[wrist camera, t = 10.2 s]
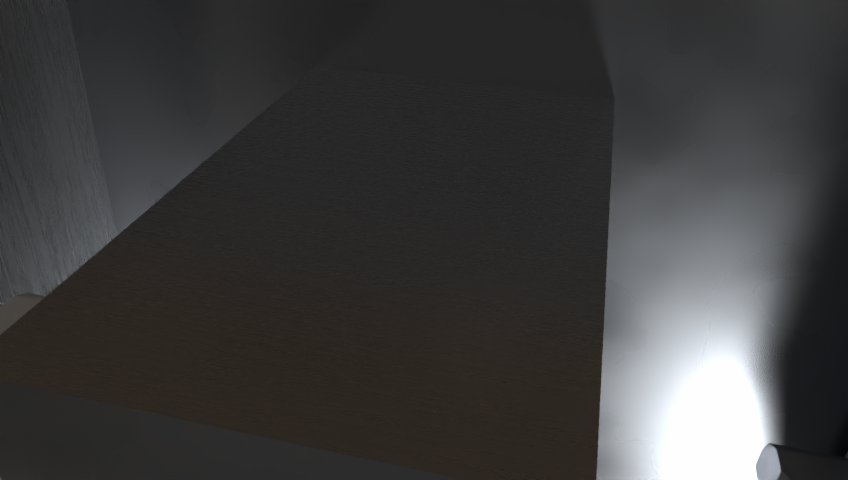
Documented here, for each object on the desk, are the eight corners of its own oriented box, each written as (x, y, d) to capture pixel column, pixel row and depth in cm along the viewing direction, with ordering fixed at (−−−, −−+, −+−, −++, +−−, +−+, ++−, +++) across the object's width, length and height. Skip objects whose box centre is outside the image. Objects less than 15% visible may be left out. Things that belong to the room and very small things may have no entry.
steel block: (614, 98, 12) (596, 509, 5) (547, 482, 16) (489, 954, 10) (317, 65, 12) (-42, 371, 6) (334, 437, 17) (148, 841, 10)
